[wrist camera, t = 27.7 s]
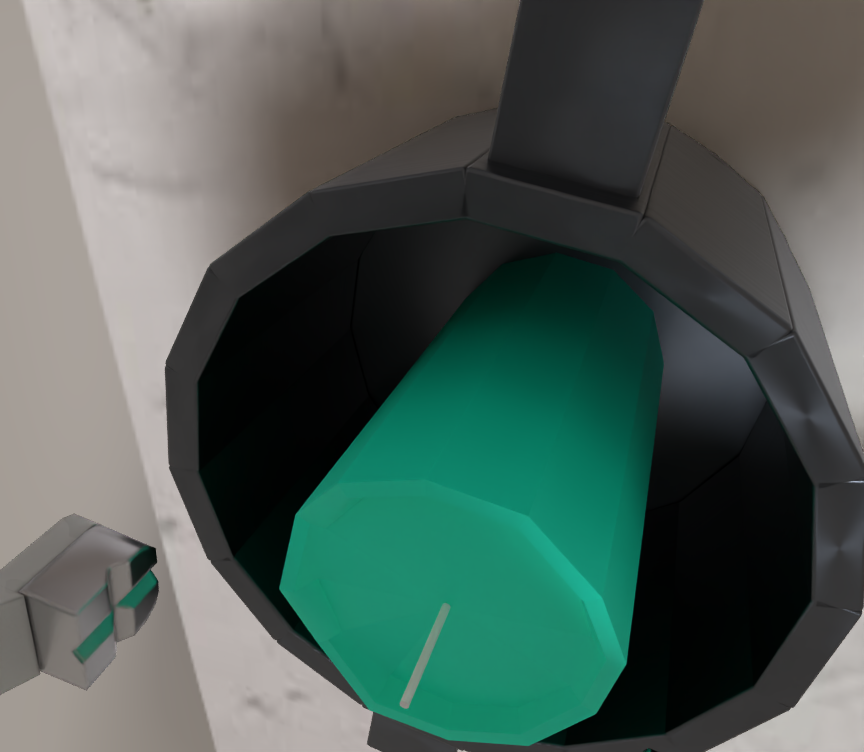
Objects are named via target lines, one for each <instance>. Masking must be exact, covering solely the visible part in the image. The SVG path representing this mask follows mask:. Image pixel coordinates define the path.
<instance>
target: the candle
mask: <svg viewBox="0 0 864 752" xmlns="http://www.w3.org/2000/svg"><path fill="white" fill-rule="evenodd" d="M663 368H664V361H663V356H662V352H661V347H660V342H659V337H658V332H657V327H656V322H655V317H654V312H653V311H652V310H651V309H650V308H649V307H648V306H647V305H646V304H645V302H644V301H643V300H642V299H641V298H640V297H639V296H638V295H637V294H636V293H635V292H634V291H633V290H632V289H631V288H630V287H629V286H628V285H627V284H626V283H625V282H624V280H623V279H622V278H621V277H620V276H619V275H618V274H617V273H616V272H615V271H614V270H612V269H609V268H605V267H602V266H599V265H596V264H592V263H589V262H586V261H583V260H579V259H576V258H573V257H570V256H566V255H563V254H560V253H552V254H548V255H543V256H538V257H533V258H529V259H524V260H519V261H514V262H510V263H505V264H502V265H501V266H500V267H499V268H498V269H497V270H495V271H494V272H493V273H492V274H491V275H490V276H489V277H488V278H487V279H486V280H485V281H484V282H483V283H482V284H481V285H480V286H478V287H477V288H476V289H475V290H474V291H473V292H472V293H471V294H470V295H469V296H468V297H467V298H466V299H465V300H464V301H463V303H462V304H461V305H460V306H459V308H458V309H457V310H456V312H455V313H454V314H453V315H452V317H451V318H450V319H449V320H448V322H447V323H446V324H445V325H444V327H443V328H442V329H441V331H440V332H439V333H438V334H437V336H436V337H435V338H434V339H433V341H432V342H431V343H430V344H429V346H428V347H427V348H426V350H425V351H424V352H423V353H422V355H421V356H420V357H419V358H418V360H417V361H416V362H415V364H414V365H413V366H412V367H411V369H410V370H409V371H408V372H407V374H406V375H405V376H404V377H403V379H402V380H401V381H400V383H399V384H398V385H397V386H396V388H395V389H394V390H393V391H392V393H391V394H390V395H389V397H388V398H387V399H386V400H385V402H384V403H383V404H382V405H381V407H380V408H379V409H378V410H377V412H376V413H375V414H374V416H373V417H372V418H371V419H370V421H369V422H368V423H367V424H366V426H365V427H364V428H363V429H362V431H361V432H360V433H359V435H358V436H357V437H356V438H355V440H354V441H353V442H352V443H351V445H350V446H349V447H348V449H347V450H346V451H345V452H344V454H343V455H342V456H341V457H340V459H339V460H338V461H337V462H336V464H335V465H334V466H333V468H332V469H331V470H330V471H329V473H328V474H327V475H326V476H325V478H324V479H323V480H322V482H321V483H320V484H319V485H318V487H317V488H316V489H315V490H314V492H313V493H312V494H311V495H310V497H309V498H308V499H307V501H306V502H305V503H304V504H303V506H302V507H301V508H300V509H299V511H298V512H297V513H296V515H295V519H294V524H293V528H292V533H291V537H290V542H289V546H288V551H287V555H286V560H285V565H284V569H283V574H282V578H281V583H280V587H279V590H280V591H281V592H282V594H283V595H284V597H285V598H286V599H287V601H288V602H289V604H290V605H291V606H292V608H293V609H294V611H295V612H296V613H297V615H298V616H299V618H300V619H301V620H302V622H303V623H304V625H305V626H306V627H307V629H308V630H309V632H310V633H311V634H312V636H313V637H314V639H315V640H316V642H317V643H318V644H319V645H320V647H321V648H322V649H323V651H324V652H325V653H326V655H327V656H328V657H329V658H330V660H331V661H332V662H333V664H334V665H335V666H336V667H337V669H338V670H339V671H340V673H341V674H342V675H343V677H344V678H345V679H346V680H347V682H348V683H349V684H350V686H351V687H352V688H353V690H354V691H355V692H356V693H357V695H358V696H359V697H360V699H361V700H362V701H363V702H364V704H365V705H366V706H367V708H368V709H369V710H370V711H373V712H376V713H378V714H381V715H384V716H386V717H389V718H391V719H394V720H397V721H399V722H402V723H405V724H407V725H410V726H412V727H415V728H418V729H420V730H423V731H425V732H428V733H431V734H433V735H436V736H439V737H441V738H444V739H446V740H453V741H467V742H480V743H494V744H508V745H522V746H530V745H532V744H534V743H536V742H538V741H540V740H542V739H544V738H547V737H549V736H551V735H553V734H555V733H557V732H559V731H561V730H563V729H566V728H568V727H570V726H572V725H574V724H576V723H578V722H580V721H582V720H585V719H587V718H589V717H591V716H593V715H595V714H596V713H597V712H598V710H599V708H600V707H601V705H602V703H603V702H604V700H605V699H606V697H607V695H608V694H609V692H610V690H611V689H612V687H613V685H614V684H615V682H616V680H617V679H618V677H619V675H620V674H621V672H622V670H623V669H624V667H625V666H626V663H627V655H628V647H629V639H630V631H631V623H632V615H633V607H634V599H635V591H636V583H637V575H638V567H639V559H640V551H641V543H642V535H643V527H644V519H645V511H646V503H647V495H648V487H649V479H650V471H651V463H652V455H653V447H654V439H655V431H656V423H657V415H658V407H659V399H660V391H661V383H662V375H663Z"/></svg>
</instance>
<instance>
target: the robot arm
mask: <svg viewBox="0 0 864 752" xmlns="http://www.w3.org/2000/svg"><path fill="white" fill-rule="evenodd" d="M156 563H157V556H156V548H154V547H151V546H149V545H147V544H145V543H142V542H140V541H138V540H135V539H133V538H131V537H128V536H126V535H124V534H121V533H119V532H117V531H114V530H112V529H110V528H107V527H105V526H103V525H101V524H98V523H96V522H94V521H91V520H89V519H86V518H84V517H82V516H79V515H77V514H72V515H69V516H67V517H64V518H62V519H61V520H60V521H58V522H57V523H56V524H55V525H54V526H53V527H51V528H50V529H49V530H48V531H46V532H45V533H44V534H43V535H42V536H41V537H40V538H38V539H37V540H36V541H34V542H33V543H32V544H31V545H30V546H28V547H27V548H26V549H25V550H24V551H22V552H21V553H20V554H19V555H18V556H16V557H15V558H14V559H13V560H12V561H11V562H9V563H8V564H7V565H6V566H5V567H3V568H2V569H1V570H0V695H1V694H3V693H5V692H7V691H9V690H11V689H13V688H15V687H16V686H19V685H21V684H22V683H24V682H26V681H28V680H30V679H32V678H34V677H36V676H38V675H40V671H41V672H44V673H46V674H49V675H51V676H53V677H56V678H58V679H60V680H63V681H65V682H68V683H70V684H72V685H75V686H77V687H79V688H81V689H84V690H87V689H88V688H89V687H90V686H91V685H92V684H93V683H94V681H95V680H96V679H97V678H98V677H99V676H100V675H101V673H102V672H103V671H104V670H105V669H106V667H108V665H109V664H110V663H111V662H112V661H113V660H114V659H115V657H116V649H117V642H119V641H122V640H124V639H127V638H129V637H132V636H134V635H135V634H136V633H137V632H138V631H139V630H140V628H141V627H142V626H143V625H144V624H145V622H146V621H147V619H148V617H149V616H150V614H151V612H152V610H153V608H154V606H155V604H156V600H157V596H158V591H159V590H158V589H159V588H158V580H157V578H156V577H155V575H154V574H153V572H152V571H151V568H152V567H153V566H154V565H155V564H156ZM643 752H658V751H655V750H652V749H650V748H647V749H646V750H644V751H643Z"/></svg>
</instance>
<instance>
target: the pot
mask: <svg viewBox="0 0 864 752" xmlns="http://www.w3.org/2000/svg"><path fill="white" fill-rule="evenodd" d="M703 2H704V0H520V4H519V9H518V14H517V18H516V23H515V28H514V33H513V38H512V43H511V47H510V52H509V57H508V62H507V67H506V72H505V76H504V81H503V86H502V91H501V96H500V101H499V106H498V108H496V109H492V110H488V111H484V112H479V113H474V114H468V115H463V116H458V117H455V118H453V119H451V120H449V121H447V122H445V123H443V124H441V125H439V126H437V127H435V128H433V129H431V130H429V131H427V132H425V133H423V134H421V135H419V136H417V137H415V138H413V139H411V140H409V141H407V142H405V143H403V144H401V145H399V146H397V147H395V148H393V149H392V150H390V151H388V152H386V153H384V154H382V155H380V156H378V157H376V158H374V159H372V160H370V161H368V162H366V163H364V164H362V165H360V166H358V167H356V168H354V169H352V170H350V171H348V172H346V173H344V174H342V175H340V176H338V177H336V178H334V179H332V180H330V181H328V182H327V183H325V184H323V185H321V186H319V187H317V188H315V189H313V190H311V191H309V192H307V193H306V194H304V195H303V196H302V197H300V198H299V199H298V200H296V201H295V202H293V203H292V204H291V205H289V206H288V207H287V208H285V209H284V210H283V211H281V212H280V213H279V214H277V215H276V216H275V217H273V218H272V219H270V220H269V221H268V222H266V223H265V224H264V225H262V226H261V227H260V228H258V229H257V230H256V231H254V232H253V233H252V234H250V235H249V236H247V237H246V238H245V239H243V240H242V241H241V242H239V243H238V244H237V245H235V246H234V247H233V248H231V249H230V250H229V251H227V252H226V253H224V254H223V255H222V256H220V257H219V258H218V259H216V260H215V261H214V262H212V263H211V264H210V266H209V267H208V268H207V271H206V273H205V275H204V277H203V280H202V282H201V284H200V286H199V289H198V291H197V293H196V295H195V297H194V300H193V302H192V304H191V306H190V309H189V311H188V313H187V315H186V318H185V320H184V322H183V324H182V327H181V329H180V331H179V333H178V335H177V338H176V340H175V342H174V344H173V347H172V349H171V351H170V353H169V356H168V358H167V360H166V367H165V383H166V408H167V433H168V459H169V465H170V466H169V469H170V471H171V474H172V476H173V479H174V481H175V483H176V486H177V488H178V490H179V493H180V495H181V497H182V500H183V502H184V504H185V507H186V509H187V511H188V514H189V516H190V519H191V521H192V523H193V526H194V528H195V530H196V533H197V535H198V537H199V540H200V542H201V544H202V547H203V549H204V551H205V554H206V556H207V558H208V560H211V563H212V565H213V566H214V567H215V568H216V570H217V571H218V572H219V573H220V574H221V576H222V577H223V578H224V579H225V580H226V582H227V583H228V584H229V585H230V587H231V588H232V589H233V590H234V591H235V593H236V594H237V595H238V596H239V598H240V599H241V600H242V601H243V602H244V604H245V605H246V606H247V607H248V608H249V610H250V611H251V612H252V613H253V615H254V616H255V617H256V618H257V619H258V621H259V622H260V623H261V624H262V626H263V627H264V628H265V629H266V630H267V632H268V633H269V634H270V635H271V637H272V638H273V639H275V640H277V642H278V644H280V645H281V646H282V647H284V648H285V649H286V650H288V651H289V652H290V653H292V654H293V655H294V656H296V657H297V658H298V659H300V660H301V661H302V662H304V663H305V664H306V665H308V666H309V667H310V668H312V669H313V670H314V671H316V672H317V673H318V674H320V675H321V676H322V677H324V678H325V679H326V680H328V681H329V682H331V683H332V684H333V685H335V686H336V687H337V688H339V689H340V690H341V691H343V692H344V693H345V694H347V695H348V696H349V697H351V698H352V699H353V700H355V701H356V702H357V703H359V704H361V705H362V706H363V707H364V708H366V709H368V708H367V706H366V705H365V704H364V702H363V701H362V700H361V699H360V697H359V696H358V695H357V693H356V692H355V691H354V690H353V688H352V687H351V686H350V684H349V683H348V682H347V680H346V679H345V678H344V677H343V675H342V674H341V673H340V671H339V670H338V669H337V667H336V666H335V665H334V664H333V662H332V661H331V660H330V658H329V657H328V656H327V655H326V653H325V652H324V651H323V649H322V648H321V647H320V645H319V644H318V643H317V642H316V640H315V639H314V637H313V636H312V634H311V633H310V632H309V630H308V629H307V627H306V626H305V625H304V623H303V622H302V620H301V619H300V618H299V616H298V615H297V613H296V612H295V611H294V609H293V608H292V606H291V605H290V604H289V602H288V601H287V599H286V598H285V597H284V595H283V594H282V592H281V591H280V590H279V587H280V583H281V578H282V574H283V569H284V565H285V560H286V555H287V551H288V546H289V542H290V537H291V533H292V528H293V524H294V519H295V515H296V513H297V512H298V511H299V509H300V508H301V507H302V506H303V504H304V503H305V502H306V501H307V499H308V498H309V497H310V495H311V494H312V493H313V492H314V490H315V489H316V488H317V487H318V485H319V484H320V483H321V482H322V480H323V479H324V478H325V476H326V475H327V474H328V473H329V471H330V470H331V469H332V468H333V466H334V465H335V464H336V462H337V461H338V460H339V459H340V457H341V456H342V455H343V454H344V452H345V451H346V450H347V449H348V447H349V446H350V445H351V443H352V442H353V441H354V440H355V438H356V437H357V436H358V435H359V433H360V432H361V431H362V429H363V428H364V427H365V426H366V424H367V423H368V422H369V421H370V419H371V418H372V417H373V416H374V414H375V413H376V412H377V410H378V409H379V408H380V407H381V405H382V404H383V403H384V402H385V400H386V399H387V398H388V397H389V395H390V394H391V393H392V391H393V390H394V389H395V388H396V386H397V385H398V384H399V383H400V381H401V380H402V379H403V377H404V376H405V375H406V374H407V372H408V371H409V370H410V369H411V367H412V366H413V365H414V364H415V362H416V361H417V360H418V358H419V357H420V356H421V355H422V353H423V352H424V351H425V350H426V348H427V347H428V346H429V344H430V343H431V342H432V341H433V339H434V338H435V337H436V336H437V334H438V333H439V332H440V331H441V329H442V328H443V327H444V325H445V324H446V323H447V322H448V320H449V319H450V318H451V317H452V315H453V314H454V313H455V312H456V310H457V309H458V308H459V306H460V305H461V304H462V303H463V301H464V300H465V299H466V298H467V297H468V296H469V295H470V294H471V293H472V292H473V291H474V290H475V289H476V288H477V287H478V286H480V285H481V284H482V283H483V282H484V281H485V280H486V279H487V278H488V277H489V276H490V275H491V274H492V273H493V272H494V271H495V270H497V269H498V268H499V267H500V266H501V265H502V264H505V263H510V262H514V261H519V260H524V259H529V258H533V257H538V256H543V255H548V254H552V253H560V254H563V255H566V256H570V257H573V258H576V259H579V260H583V261H586V262H589V263H592V264H596V265H599V266H602V267H605V268H609V269H612V270H614V271H615V272H616V273H617V274H618V275H619V276H620V277H621V278H622V279H623V280H624V282H625V283H626V284H627V285H628V286H629V287H630V288H631V289H632V290H633V291H634V292H635V293H636V294H637V295H638V296H639V297H640V298H641V299H642V300H643V301H644V302H645V304H646V305H647V306H648V307H649V308H650V309H651V310H652V311H653V312H654V317H655V322H656V327H657V332H658V337H659V342H660V347H661V352H662V356H663V361H664V368H663V375H662V383H661V391H660V399H659V407H658V415H657V423H656V431H655V439H654V447H653V455H652V463H651V471H650V479H649V487H648V495H647V503H646V511H645V519H644V527H643V535H642V543H641V551H640V559H639V567H638V575H637V583H636V591H635V599H634V607H633V615H632V623H631V631H630V639H629V647H628V655H627V663H626V666H625V667H624V669H623V670H622V672H621V674H620V675H619V677H618V679H617V680H616V682H615V684H614V685H613V687H612V689H611V690H610V692H609V694H608V695H607V697H606V699H605V700H604V702H603V703H602V705H601V707H600V708H599V710H598V712H597V713H596V714H595V715H593V716H591V717H589V718H587V719H585V720H582V721H580V722H578V723H576V724H574V725H572V726H570V727H568V728H566V729H563V730H561V731H559V732H557V733H555V734H553V735H551V736H549V737H547V738H544V739H542V740H540V741H538V742H536V743H534V744H532V745H530V746H522V745H508V744H494V743H480V742H467V741H453V740H446V739H444V738H441V737H439V736H436V735H433V734H431V733H428V732H425V731H423V730H420V729H418V728H415V727H412V726H410V725H407V724H405V723H402V722H399V721H397V720H394V719H391V718H389V717H386V716H384V715H381V714H378V713H376V712H373V716H372V721H371V726H370V731H369V736H368V741H367V744H368V745H369V746H370V747H373V748H375V749H377V750H379V751H381V752H457V750H458V749H459V750H461V751H463V750H465V751H467V752H643V751H644V750H646V749H647V748H650V749H652V750H655V751H658V752H705V751H707V750H709V749H711V748H713V747H715V746H717V745H719V744H721V743H724V742H726V741H728V740H730V739H732V738H734V737H736V736H738V735H740V734H742V733H744V732H746V731H748V730H750V729H752V728H754V727H756V726H758V725H760V724H762V723H764V722H766V721H768V720H770V719H772V718H774V717H776V716H778V715H780V714H782V713H784V712H787V711H789V710H790V709H791V708H793V707H795V705H796V704H797V702H798V701H799V700H800V698H801V697H802V696H803V694H804V693H805V692H806V690H807V689H808V687H809V686H810V685H811V683H812V682H813V681H814V679H815V678H816V677H817V675H818V674H819V672H820V671H821V670H822V668H823V667H824V666H825V664H826V663H827V662H828V660H829V659H830V658H831V656H832V655H833V653H834V652H835V651H836V649H837V648H838V647H839V645H840V644H841V643H842V641H843V640H844V638H845V637H846V636H847V634H848V633H849V632H850V630H851V629H852V628H853V626H854V625H855V623H856V622H857V621H858V619H859V618H860V617H861V615H862V609H863V607H864V453H863V450H862V447H861V444H860V441H859V438H858V435H857V432H856V429H855V426H854V423H853V420H852V417H851V414H850V411H849V408H848V404H847V401H846V398H845V395H844V392H843V389H842V386H841V383H840V380H839V377H838V374H837V371H836V368H835V365H834V362H833V359H832V356H831V352H830V349H829V346H828V343H827V340H826V337H825V334H824V331H823V328H822V325H821V322H820V319H819V316H818V313H817V310H816V307H815V304H814V300H813V297H812V294H811V291H810V288H809V286H808V284H807V282H806V280H805V278H804V276H803V274H802V272H801V270H800V268H799V266H798V264H797V262H796V260H795V258H794V256H793V254H792V252H791V250H790V248H789V245H788V243H787V240H786V238H785V236H784V234H783V233H782V231H781V229H780V228H779V226H778V224H777V222H776V220H775V218H774V216H773V214H772V212H771V210H770V208H769V206H768V204H767V202H766V200H765V198H764V197H763V196H761V194H760V192H758V191H757V190H756V189H755V188H753V187H752V186H751V185H749V184H748V183H747V182H746V181H745V180H744V179H743V178H742V177H741V176H740V175H739V174H738V173H736V172H735V171H734V170H733V169H732V168H731V167H730V166H729V165H727V164H726V163H725V162H724V161H723V160H722V159H721V158H720V157H719V156H717V155H716V154H715V153H713V152H712V151H710V150H709V149H707V148H706V147H704V146H702V145H701V144H699V143H698V142H696V141H695V140H693V139H692V138H690V137H689V136H687V135H686V134H684V133H682V132H681V131H679V130H678V129H677V128H676V127H674V126H670V124H668V123H665V122H664V121H665V118H666V115H667V112H668V109H669V106H670V103H671V100H672V97H673V93H674V90H675V87H676V84H677V81H678V78H679V75H680V72H681V69H682V66H683V63H684V60H685V57H686V54H687V51H688V48H689V45H690V42H691V39H692V36H693V33H694V30H695V27H696V24H697V21H698V18H699V14H700V11H701V8H702V5H703ZM368 710H369V709H368Z"/></svg>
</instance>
